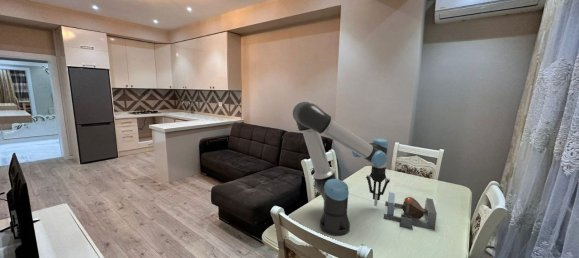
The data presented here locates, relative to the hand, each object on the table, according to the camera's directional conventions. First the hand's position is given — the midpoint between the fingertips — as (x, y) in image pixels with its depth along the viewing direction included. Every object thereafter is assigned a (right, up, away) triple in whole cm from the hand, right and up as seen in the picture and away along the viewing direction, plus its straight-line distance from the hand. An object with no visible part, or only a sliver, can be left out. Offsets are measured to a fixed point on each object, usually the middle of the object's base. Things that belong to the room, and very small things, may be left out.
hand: (375, 204), depth 137 cm
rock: (+17, -5, -7) cm, 19 cm away
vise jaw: (+7, -3, -3) cm, 9 cm away
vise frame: (+14, -5, -9) cm, 17 cm away
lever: (+10, -1, -17) cm, 19 cm away
